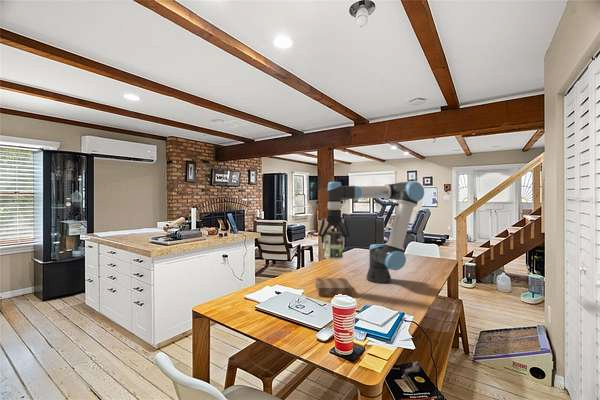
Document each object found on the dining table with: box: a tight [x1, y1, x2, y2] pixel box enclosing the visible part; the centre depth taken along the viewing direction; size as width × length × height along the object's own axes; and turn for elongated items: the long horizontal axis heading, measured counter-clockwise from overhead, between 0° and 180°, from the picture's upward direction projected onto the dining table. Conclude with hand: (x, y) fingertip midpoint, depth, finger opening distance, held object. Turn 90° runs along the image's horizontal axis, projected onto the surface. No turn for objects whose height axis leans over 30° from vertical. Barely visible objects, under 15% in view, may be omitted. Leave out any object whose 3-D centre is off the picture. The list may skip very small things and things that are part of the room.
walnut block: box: [314, 277, 353, 297], centre depth 158 cm, size 18×18×4 cm
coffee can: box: [324, 230, 344, 260], centre depth 158 cm, size 10×10×14 cm
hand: (333, 248), depth 158 cm, fingers closed on coffee can, 10 cm apart
